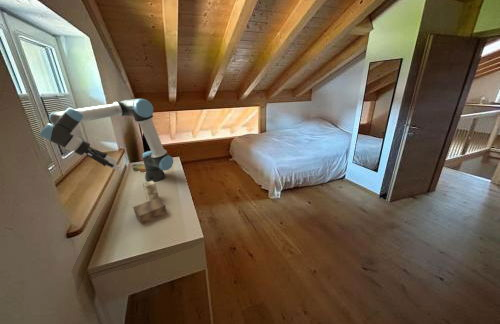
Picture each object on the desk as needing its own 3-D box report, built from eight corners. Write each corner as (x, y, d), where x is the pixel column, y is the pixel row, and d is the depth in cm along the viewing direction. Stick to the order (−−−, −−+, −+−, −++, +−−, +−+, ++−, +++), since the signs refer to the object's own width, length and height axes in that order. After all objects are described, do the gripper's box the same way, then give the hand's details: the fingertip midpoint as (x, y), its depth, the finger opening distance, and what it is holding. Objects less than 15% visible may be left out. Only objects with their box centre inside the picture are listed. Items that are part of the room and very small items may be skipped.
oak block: (155, 196, 145) (152, 180, 141) (159, 199, 141) (155, 183, 137) (146, 199, 141) (142, 183, 137) (150, 202, 137) (146, 186, 133)
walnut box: (159, 206, 133) (157, 197, 131) (167, 214, 125) (165, 205, 123) (135, 215, 125) (132, 207, 122) (141, 225, 116) (139, 215, 114)
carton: (146, 173, 186) (145, 168, 184) (133, 171, 192) (131, 167, 190) (153, 169, 193) (152, 165, 192) (140, 167, 199) (139, 163, 197)
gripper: (74, 146, 122) (111, 164, 135) (72, 157, 103) (115, 177, 116) (83, 136, 123) (119, 155, 136) (82, 144, 104) (124, 165, 117)
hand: (117, 165), depth 126 cm, fingers open, 13 cm apart
